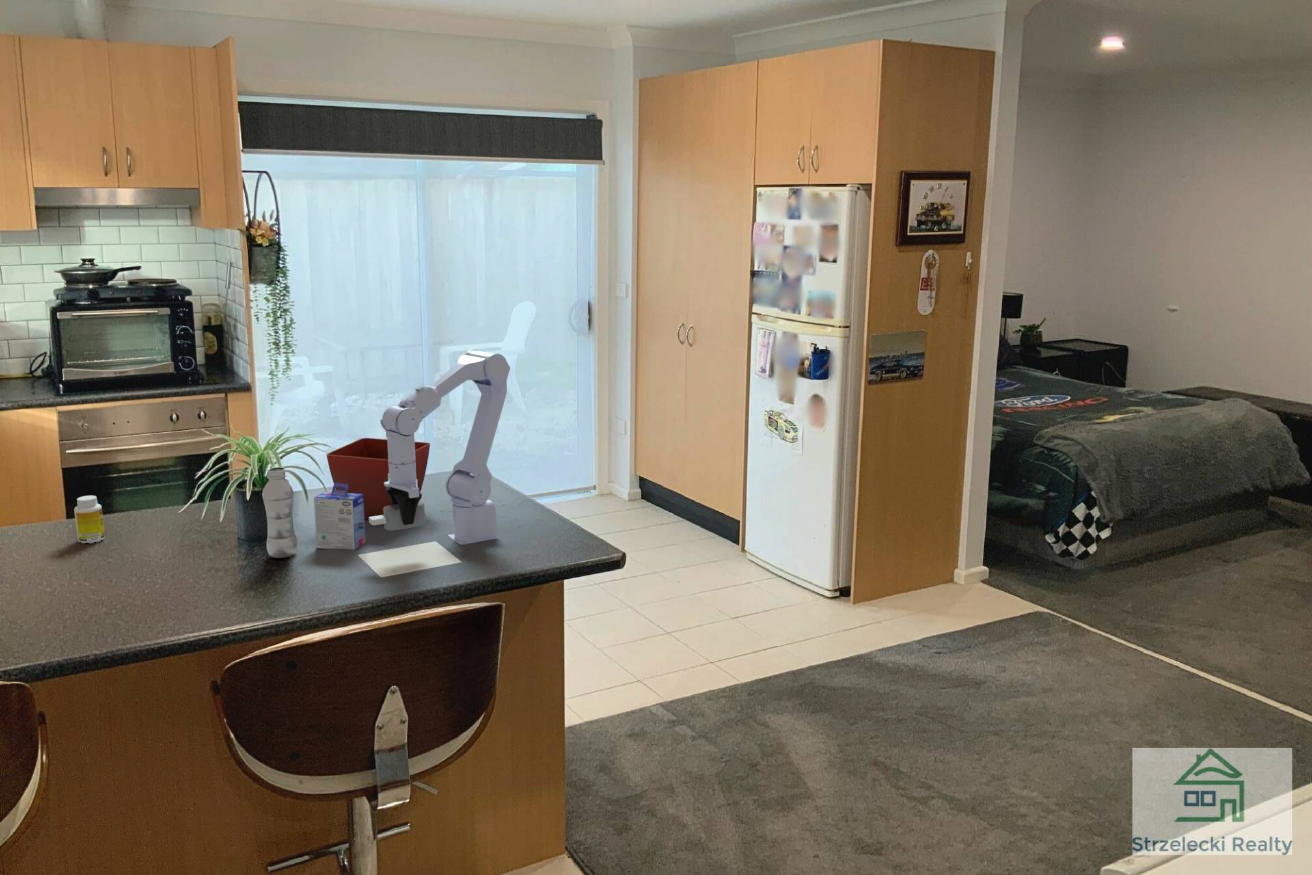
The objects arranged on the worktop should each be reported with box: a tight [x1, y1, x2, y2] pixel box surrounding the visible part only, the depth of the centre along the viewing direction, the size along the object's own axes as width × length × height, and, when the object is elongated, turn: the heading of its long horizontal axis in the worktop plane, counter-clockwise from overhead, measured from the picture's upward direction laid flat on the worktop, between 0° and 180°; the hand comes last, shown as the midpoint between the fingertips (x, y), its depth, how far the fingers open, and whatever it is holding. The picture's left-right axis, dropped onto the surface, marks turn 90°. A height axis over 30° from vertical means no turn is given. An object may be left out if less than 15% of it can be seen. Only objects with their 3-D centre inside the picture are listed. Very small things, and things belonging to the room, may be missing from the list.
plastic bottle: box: [261, 466, 299, 559], centre depth 231 cm, size 6×7×20 cm
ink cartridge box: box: [313, 483, 367, 550], centre depth 239 cm, size 10×6×14 cm, turn 78°
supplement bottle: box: [73, 495, 106, 544], centre depth 242 cm, size 6×6×10 cm
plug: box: [368, 501, 426, 531], centre depth 230 cm, size 12×4×4 cm, turn 122°
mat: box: [357, 540, 463, 578], centre depth 232 cm, size 18×16×1 cm
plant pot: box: [326, 437, 431, 520], centre depth 263 cm, size 19×19×17 cm
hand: (404, 521), depth 231 cm, fingers closed on plug, 4 cm apart
